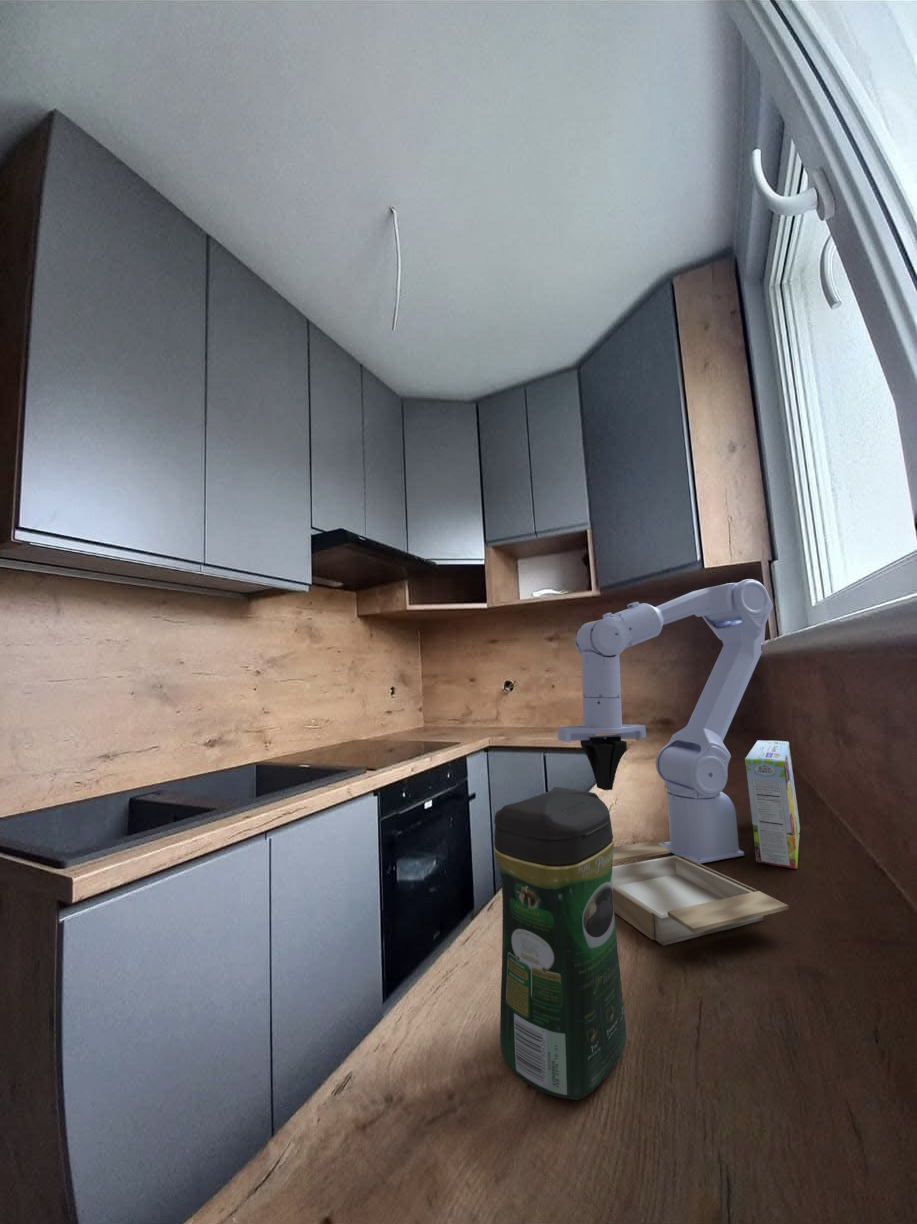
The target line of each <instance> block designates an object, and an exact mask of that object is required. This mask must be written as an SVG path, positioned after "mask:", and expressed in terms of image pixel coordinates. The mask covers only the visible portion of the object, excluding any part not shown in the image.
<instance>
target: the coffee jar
mask: <svg viewBox="0 0 917 1224" xmlns="http://www.w3.org/2000/svg"><path fill="white" fill-rule="evenodd" d="M613 835H614V834H613V829H612V821H611V814H610V811H609V808H608V806H607V805H606V803H605V802H604V801H603V800H602V799H601V798H600V797H599V796H598V794H597V793H594V792H592V791H585V790H580V789H573V788H567V787H561V786H554V787H553V788H552V789H551V790H549V791H546V792H542V793H540V794H538V795H534V796H532V797H529V798H526V799H523V800H521V801H518V802H514V803H510V804H505V805H504V806H502V807H501V808H500V809H498V810H497V811H496V812H495V814H494V842H493V843H494V846H493V851H494V858H495V861H496V864H497V867H498V870H499V874H500V881H501V882H500V883H501V894H502V898H501V899H502V902H501V903H502V929H501V930H502V932H501V933H502V934H501V935H502V936H501V938H502V940H501V941H502V942H501V945H502V947H501V951H502V952H501V953H502V954H501V981H500V982H501V983H500V1007H499V1008H500V1014H499V1016H500V1017H499V1019H500V1023H499V1024H500V1025H499V1028H500V1029H499V1031H500V1033H499V1034H500V1035H499V1037H500V1042H499V1044H500V1045H499V1046H500V1050H501V1051H500V1052H501V1054H502V1057H503V1059H504V1061H505V1063H506V1064H507V1065H508V1067H509V1068H510V1069H511V1070H512V1071H513V1072H514V1073H515V1074H516V1075H517V1077H519V1079H521V1080H523V1081H524V1082H525V1083H526V1084H528V1085H529V1086H530V1087H532V1088H533V1089H535V1090H537V1091H538V1092H540V1093H542V1094H544V1095H550V1096H553V1097H556V1098H560V1099H565V1100H566V1099H567V1100H568V1099H569V1100H574V1101H575V1100H576V1101H577V1100H581V1099H583V1098H585V1097H586V1096H589V1095H590V1094H591V1093H592V1092H594V1090H595V1089H596V1088H597V1087H599V1086H600V1085H601V1084H602V1082H604V1080H605V1079H606V1078H607V1077H608V1075H609V1074H610V1073H611V1071H612V1070H613V1068H614V1066H616V1063H617V1062H618V1061H619V1059H620V1056H622V1055H621V1054H622V1052H623V1051H624V1047H625V1045H626V1042H627V1026H626V1015H625V1003H624V996H623V995H624V994H623V987H622V985H623V984H622V979H621V970H620V962H619V961H620V959H619V950H618V949H619V948H618V938H617V928H616V917H615V912H614V903H613V886H612V867H613V865H614V863H613V847H614V836H613Z"/></svg>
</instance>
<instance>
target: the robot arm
mask: <svg viewBox="0 0 917 1224" xmlns="http://www.w3.org/2000/svg"><path fill="white" fill-rule="evenodd" d="M771 599H772V598H770V595H769V592H768V590H767V589H766V587H765V586H764V585H763V584H762V583H761V582H760V581H758V580H757V579H752V578H747V579H742V580H741V581H739V582H730V583H725V584H720V585H719V584H718V585H715V586H710V587H705V588H702V589H697V590H693V591H691V592H688V593H686V594H683V595H681V596H679V597H678V596H677V597H676V598H674V599H671V600H669V601H666V602H664V603H662V604H659V605H657V606H653V605H651V604H649V603H645V602H643V603H640V602H639V601H634V602H631V603H629V604H627V609H623V610H620V611H617V612H615V613H612V612H607V613H604V614H602V619H598V620H594V621H589V622H585V623H583V624H582V625H581V626H580V628H579V629H578V631H577V633H576V637H575V638H574V639H573V643H574V646H575V649H576V651H578V653H579V655H580V657H581V684H582V685H581V687H582V691H581V692H582V718H583V719H582V721H583V722H582V723H583V724H582V725H579V724H578V725H571V726H558V727H557V738H558V739H557V740H558V741H561V742H565V743H567V742H569V743H570V742H572V741H574V742H575V741H580V742H579V743H580V746H581V748H582V749H583V752H584V753H585V755H586V757H587V759H588V761H589V764H590V767H591V770H592V773H593V776H594V780H595V784H596V788H597V789H600V790H603V791H612V790H613V787H614V782H615V777H616V774H617V770H618V766H619V764H620V762H621V759H622V757H623V755H624V754H625V752H626V750H627V748H628V745H627V744H628V743H627V741H625V740H622V739H636V738H637V739H647V734H646V733H647V731H646V730H647V729H646V725H643V724H623V717H622V716H623V715H622V714H623V713H622V694H621V693H622V692H621V691H622V690H621V686H622V684H621V664H620V663H621V662H620V661H621V660H620V654H622V653H623V652H624V650H625V649H628V648H629V647H633V646H635V645H638V644H640V643H642V642H646V641H648V640H650V639H653V638H656V637H657V636H659V635H660V633H661V632H662V630H663V626H664V625H668V624H670V623H673V622H677V621H679V620H682V619H685V618H688V617H691V616H693V615H694V616H695V617H697V618H699V617H701V618H703V620H704V621H705V623H706V624H707V625H708V627H709V628H710V629H711V630H712V632H713V633H714V634H715V635H716V637H717V638H718V639H719V640H720V641H721V642H722V644H723V646H722V648H721V650H720V653H719V655H718V657H717V659H716V661H715V663H714V666H713V668H712V669H711V672H710V673H709V674H710V675H709V676H708V679H707V681H706V683H705V685H704V688H703V690H702V691H701V694H700V696H699V698H698V701H697V703H696V705H695V707H694V710H693V712H692V713H691V716H690V718H689V721H688V722H687V725H685V727H683V728H681V729H680V730H678V731H677V732H675V733H673V734H672V735H671V737H670V740H669V741H668V743H667V744H666V745H664V746H663V747H662V748H661V749H660V750H659V751H658V753H657V755H656V758H655V770H656V772H657V775H658V776H659V777H660V778H661V779H662V780H663V781H664V787H665V788H666V798H667V802H666V803H667V812H668V813H667V815H668V828H669V831H668V832H669V841H665V842H658V843H657V844H659V845H661V846H663V847H665V848H667V849H669V850H670V853H671V854H672V855H674V856H677V857H680V858H682V856H684V857H686V858H688V859H690V860H693V861H695V862H697V863H699V864H701V865H702V864H705V863H711V862H715V861H720V860H725V859H730V858H731V859H732V858H737V857H742V856H745V852H744V851H743V850H740V847H739V846H740V845H739V833H738V822H737V812H736V807H735V806H734V803H733V802H732V800H731V798H730V797H729V796H728V795H727V794H726V793H724V792H723V790H724V789H725V787H726V785H727V782H728V768H729V763H730V760H731V758H732V755H731V753H730V752H729V750H728V748H727V747H726V745H725V744H724V739H725V737H726V735H727V733H728V731H729V728H730V726H731V723H732V721H733V718H734V717H735V715H736V713H737V709H738V707H739V705H740V703H741V700H742V698H743V696H744V694H745V691H746V690H747V687H748V685H749V682H750V680H751V678H752V676H753V673H754V671H755V668H756V666H757V664H758V662H759V659H760V657H761V655H762V653H763V651H761V643H764V644H765V643H766V642H765V638H766V625H767V621H768V619H769V617H770V615H771V612H772V610H773V608H774V605H773V603H772V600H771Z"/></svg>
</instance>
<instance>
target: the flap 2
mask: <svg viewBox="0 0 917 1224" xmlns="http://www.w3.org/2000/svg"><path fill="white" fill-rule="evenodd" d="M787 910H789V905H788V904H786V903H785V902H782V901H780V900H778V899H776V898H774V897H772V896H770V895H768V894H767V893H763V892H761V891H760V890H757V891H756V892H752V893H747V894H743V895H738V896H734V897H730V898H725V899H721V900H716V901H712V902H707V903H703V904H698V905H694V906H689V907H685V908H680V909H676V910H672V911H667V913H668V916H669V917H671V918H672V919H674V920H675V921H676V922H678V923H679V924H681V925H682V926H684V927H685V928H687V929H688V930H690V931H691V932H693V933H695V932H699V931H704V930H708V929H712V928H716V927H720V926H724V925H728V924H732V923H736V922H740V921H744V920H748V919H752V918H756V917H760V916H763V917H764V916H767V915H771V914H775V913H780V912H783V911H784V912H785V911H787Z"/></svg>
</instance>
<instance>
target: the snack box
mask: <svg viewBox="0 0 917 1224" xmlns="http://www.w3.org/2000/svg"><path fill="white" fill-rule="evenodd" d="M744 763H745V770H746V778H747V788H748V795H749V797H748V798H749V803H750V804H749V805H750V814H751V823H752V833H753V840H754V841H753V842H754V852H755V862H756V863H757V862H758V863H757V864H764V865H765V864H766V865H771V866H776V867H783V868H789V869H794V870H797V869H798V863H799V861H798V859H799V846H800V845H799V844H800V834H799V833H801V832H800V831H801V826H800V817H799V809H798V803H797V795H796V788H795V781H794V780H795V779H794V773H793V771H794V770H793V763H792V756H791V750H790V742H789V741H784V740H762V739H760V740H758V739H757V740H756V742H755V744H754V745H753V746H752V748H751V749H750V751H749V752H748V754H747V755H746V757H744Z"/></svg>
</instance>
